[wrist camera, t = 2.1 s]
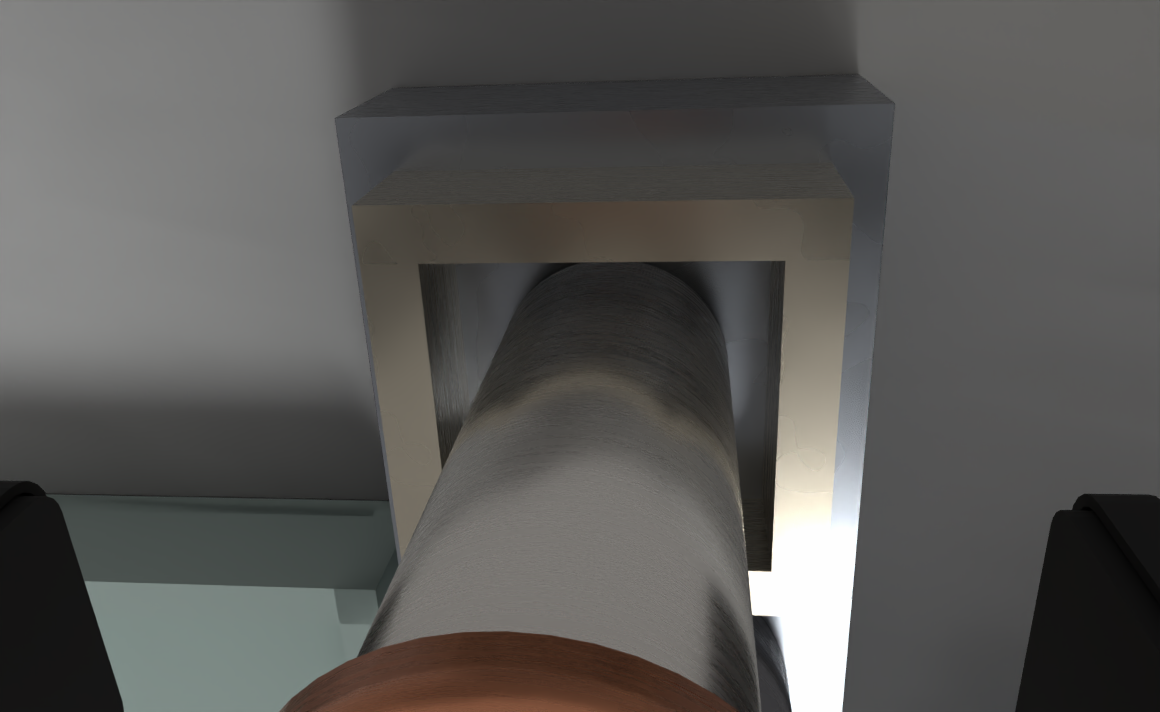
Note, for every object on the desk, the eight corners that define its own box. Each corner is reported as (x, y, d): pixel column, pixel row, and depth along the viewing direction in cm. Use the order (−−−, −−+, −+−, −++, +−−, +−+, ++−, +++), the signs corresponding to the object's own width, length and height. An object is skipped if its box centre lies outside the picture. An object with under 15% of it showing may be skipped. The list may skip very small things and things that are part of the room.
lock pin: (750, 488, 16) (834, 1233, 7) (488, 483, 16) (241, 1172, 7) (758, 231, 14) (889, 771, 5) (466, 234, 15) (100, 734, 6)
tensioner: (813, 717, 22) (852, 961, 16) (464, 703, 22) (398, 929, 17) (859, 74, 16) (940, 140, 11) (392, 88, 17) (264, 155, 12)
